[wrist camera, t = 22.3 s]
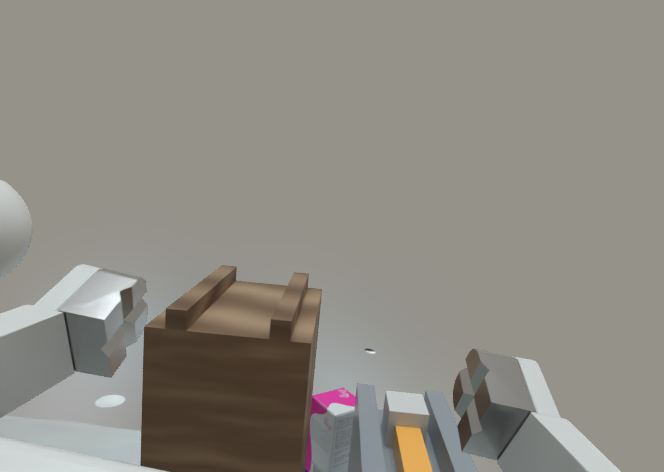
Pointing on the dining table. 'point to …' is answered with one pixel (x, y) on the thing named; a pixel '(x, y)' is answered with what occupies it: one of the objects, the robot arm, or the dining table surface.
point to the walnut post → (231, 377)
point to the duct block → (378, 461)
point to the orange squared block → (406, 430)
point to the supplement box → (330, 431)
